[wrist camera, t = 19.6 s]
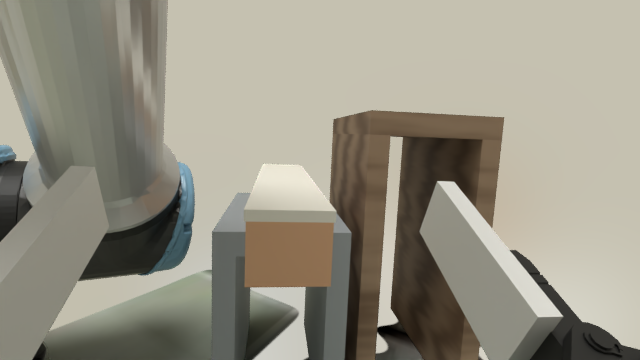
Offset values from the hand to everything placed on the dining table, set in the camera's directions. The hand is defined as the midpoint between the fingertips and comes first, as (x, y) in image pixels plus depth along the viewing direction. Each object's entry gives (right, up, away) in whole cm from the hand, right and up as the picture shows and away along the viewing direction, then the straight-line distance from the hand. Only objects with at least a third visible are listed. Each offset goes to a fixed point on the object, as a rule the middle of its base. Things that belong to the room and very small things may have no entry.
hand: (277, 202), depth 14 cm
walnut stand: (+10, -20, +30) cm, 37 cm away
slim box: (-1, -3, +17) cm, 17 cm away
